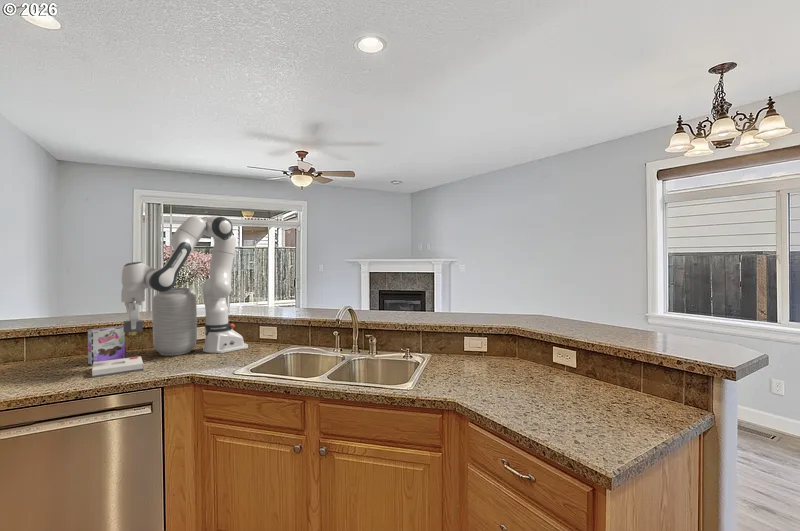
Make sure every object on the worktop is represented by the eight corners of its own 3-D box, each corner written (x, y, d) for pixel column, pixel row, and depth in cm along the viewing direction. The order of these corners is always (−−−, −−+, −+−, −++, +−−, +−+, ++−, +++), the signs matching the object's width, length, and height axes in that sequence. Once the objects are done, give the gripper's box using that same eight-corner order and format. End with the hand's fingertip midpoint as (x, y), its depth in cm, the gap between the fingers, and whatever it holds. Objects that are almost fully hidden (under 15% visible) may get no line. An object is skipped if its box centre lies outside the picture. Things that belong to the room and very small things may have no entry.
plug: (141, 333, 185) (141, 317, 185) (142, 335, 181) (142, 319, 181) (123, 334, 181) (123, 318, 181) (123, 336, 177) (124, 320, 177)
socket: (141, 362, 190) (140, 354, 190) (143, 370, 177) (143, 362, 177) (93, 368, 180) (93, 361, 179) (92, 377, 167) (92, 369, 167)
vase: (192, 346, 223) (191, 286, 223) (201, 353, 208) (200, 289, 207) (150, 352, 211) (149, 288, 210) (156, 359, 195) (155, 291, 194)
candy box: (91, 366, 184) (91, 330, 184) (87, 364, 188) (86, 329, 187) (126, 359, 195) (125, 326, 195) (121, 358, 199) (121, 325, 198)
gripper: (143, 299, 174) (143, 330, 174) (139, 295, 191) (139, 324, 191) (125, 300, 171) (125, 332, 171) (123, 296, 187) (123, 325, 187)
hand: (132, 328), depth 181 cm, fingers closed on plug, 5 cm apart
